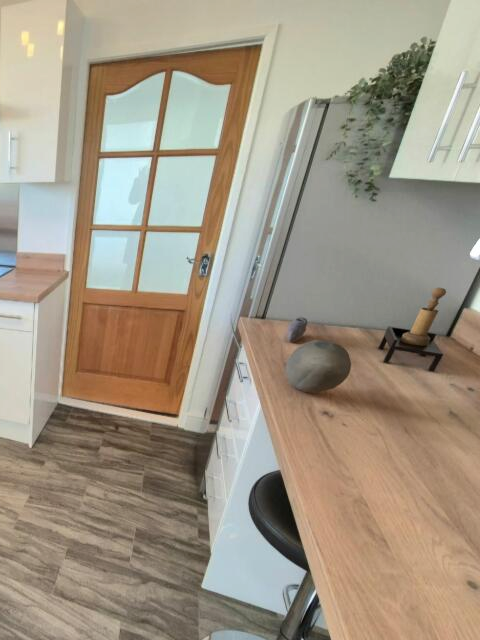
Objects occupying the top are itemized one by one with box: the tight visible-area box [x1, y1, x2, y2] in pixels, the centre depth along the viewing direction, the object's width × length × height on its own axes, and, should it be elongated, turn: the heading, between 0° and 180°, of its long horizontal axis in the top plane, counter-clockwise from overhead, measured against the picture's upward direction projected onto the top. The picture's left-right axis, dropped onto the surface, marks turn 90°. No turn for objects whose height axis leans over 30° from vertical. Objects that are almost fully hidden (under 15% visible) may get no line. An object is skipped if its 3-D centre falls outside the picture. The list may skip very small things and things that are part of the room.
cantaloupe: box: [285, 339, 352, 394], centre depth 118 cm, size 14×14×15 cm
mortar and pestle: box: [401, 287, 447, 346], centre depth 136 cm, size 7×6×18 cm
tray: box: [378, 326, 444, 373], centre depth 141 cm, size 12×16×8 cm
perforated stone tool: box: [286, 316, 308, 343], centre depth 158 cm, size 15×5×7 cm, turn 135°
